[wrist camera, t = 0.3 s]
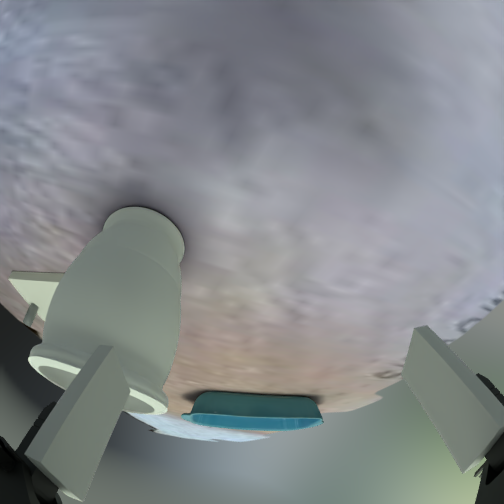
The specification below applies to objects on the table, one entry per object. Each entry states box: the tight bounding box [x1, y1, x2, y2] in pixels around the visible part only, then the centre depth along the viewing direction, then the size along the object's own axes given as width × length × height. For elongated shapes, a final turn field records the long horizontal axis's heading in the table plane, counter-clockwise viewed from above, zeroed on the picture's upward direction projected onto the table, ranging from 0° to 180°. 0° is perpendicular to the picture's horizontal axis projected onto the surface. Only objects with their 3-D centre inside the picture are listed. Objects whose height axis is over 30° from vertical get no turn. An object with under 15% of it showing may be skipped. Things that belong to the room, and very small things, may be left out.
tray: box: [8, 271, 65, 327], centre depth 34 cm, size 19×19×5 cm
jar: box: [28, 207, 185, 415], centre depth 20 cm, size 11×10×15 cm
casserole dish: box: [181, 391, 324, 431], centre depth 62 cm, size 37×22×7 cm, turn 79°
